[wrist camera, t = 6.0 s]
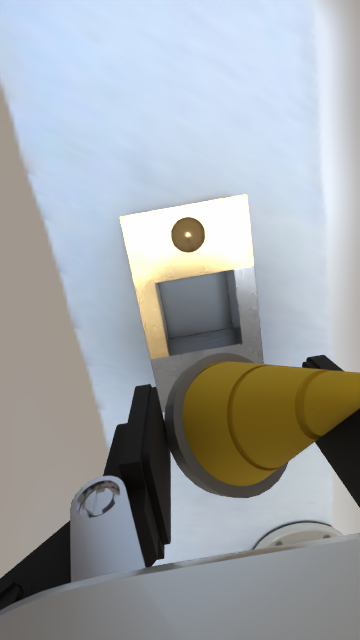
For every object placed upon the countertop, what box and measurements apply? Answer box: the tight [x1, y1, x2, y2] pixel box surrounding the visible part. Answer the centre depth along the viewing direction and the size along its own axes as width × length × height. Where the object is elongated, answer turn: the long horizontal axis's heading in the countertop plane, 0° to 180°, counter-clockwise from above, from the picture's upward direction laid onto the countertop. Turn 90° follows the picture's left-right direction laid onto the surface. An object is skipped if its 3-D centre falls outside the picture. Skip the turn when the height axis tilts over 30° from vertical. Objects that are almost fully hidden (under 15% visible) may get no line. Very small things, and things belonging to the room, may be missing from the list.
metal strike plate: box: [120, 194, 264, 412], centre depth 25 cm, size 16×9×5 cm, turn 10°
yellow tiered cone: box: [164, 353, 360, 498], centre depth 11 cm, size 5×5×10 cm
